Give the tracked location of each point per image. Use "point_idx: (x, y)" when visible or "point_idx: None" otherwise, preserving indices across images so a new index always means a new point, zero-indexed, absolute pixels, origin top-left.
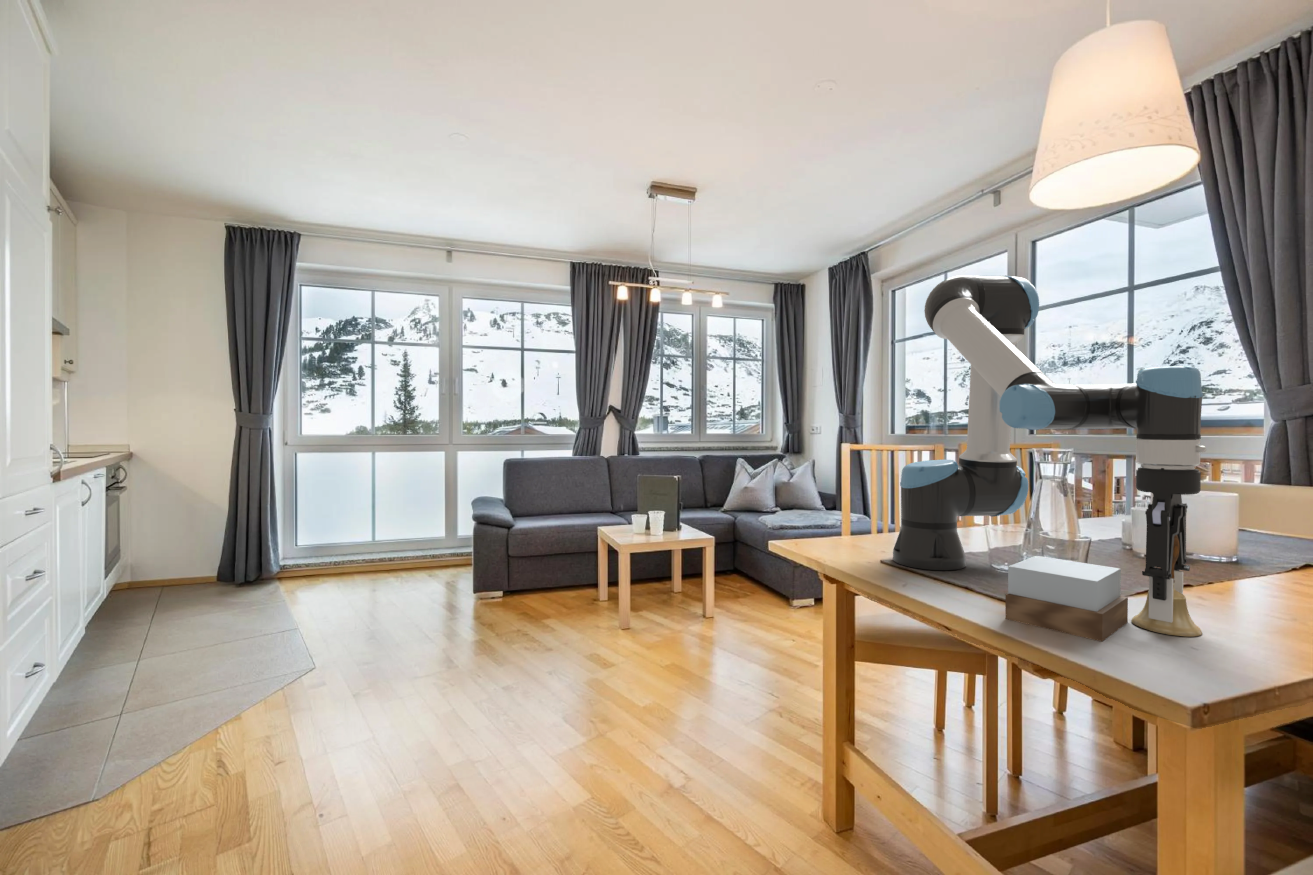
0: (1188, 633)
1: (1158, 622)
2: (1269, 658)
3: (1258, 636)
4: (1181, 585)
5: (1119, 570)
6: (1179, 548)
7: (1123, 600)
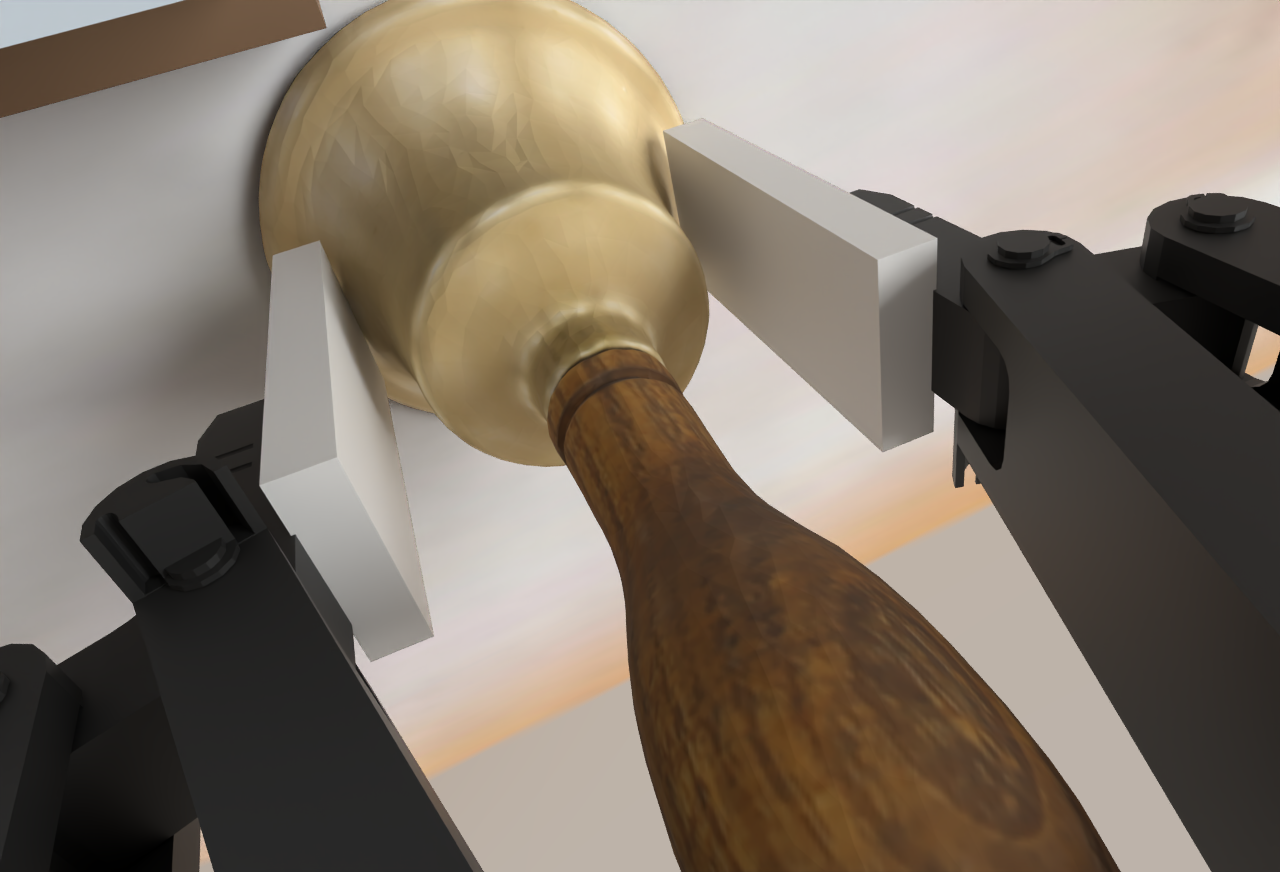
0: (426, 410)
1: None
2: (458, 683)
3: (792, 487)
4: (798, 374)
5: (145, 6)
6: (1092, 659)
7: (122, 82)
